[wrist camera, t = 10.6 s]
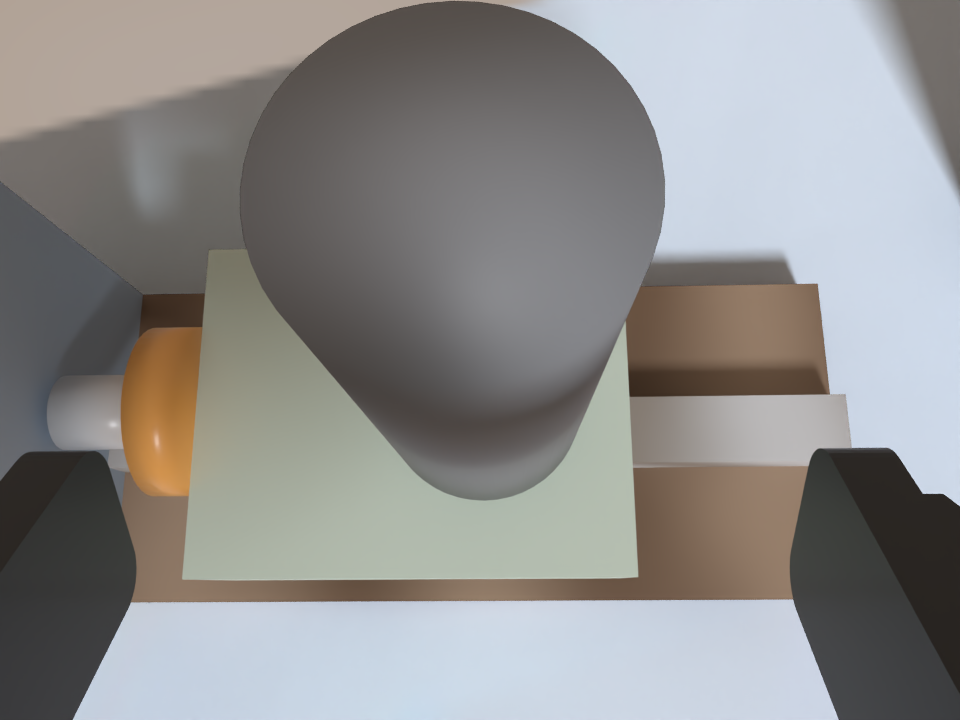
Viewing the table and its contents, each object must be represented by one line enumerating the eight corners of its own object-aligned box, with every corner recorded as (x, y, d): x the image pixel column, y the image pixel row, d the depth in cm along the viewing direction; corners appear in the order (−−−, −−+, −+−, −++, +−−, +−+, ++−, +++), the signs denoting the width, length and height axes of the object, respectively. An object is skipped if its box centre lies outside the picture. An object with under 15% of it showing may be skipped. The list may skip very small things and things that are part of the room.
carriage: (606, 289, 21) (742, -132, 9) (619, 578, 20) (811, 564, 7) (249, 294, 22) (-110, -105, 9) (229, 580, 20) (-248, 570, 7)
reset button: (235, 352, 21) (180, 304, 17) (225, 503, 20) (164, 486, 16) (112, 354, 21) (32, 306, 17) (96, 504, 20) (8, 487, 16)
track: (802, 298, 24) (831, 270, 22) (833, 598, 22) (869, 599, 20) (21, 310, 25) (-25, 284, 22) (-19, 602, 22) (-74, 603, 20)
